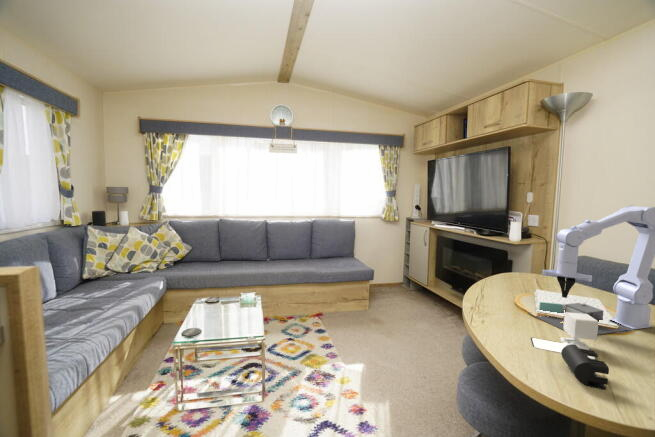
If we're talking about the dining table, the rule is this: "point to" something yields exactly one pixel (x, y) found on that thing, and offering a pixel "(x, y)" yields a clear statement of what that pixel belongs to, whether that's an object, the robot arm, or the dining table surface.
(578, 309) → the housing
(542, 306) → the side door
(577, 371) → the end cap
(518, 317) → the dining table surface
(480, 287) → the dining table surface
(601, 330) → the mat
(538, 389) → the dining table surface
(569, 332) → the security camera
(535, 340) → the smartphone
